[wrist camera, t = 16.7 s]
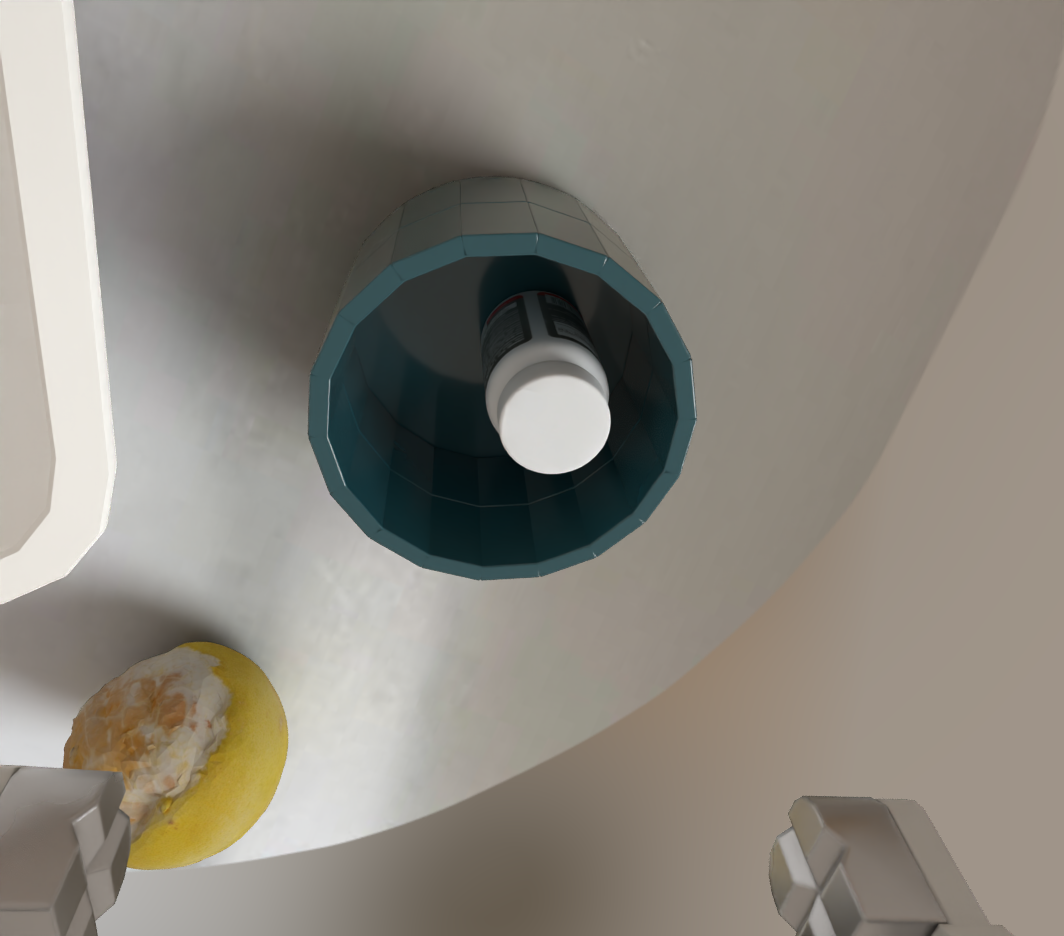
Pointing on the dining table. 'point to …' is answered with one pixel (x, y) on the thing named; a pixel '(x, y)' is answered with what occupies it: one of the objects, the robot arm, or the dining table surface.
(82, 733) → the fruit
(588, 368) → the pill bottle
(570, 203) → the enamel pot
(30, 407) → the baking dish
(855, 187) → the dining table surface
